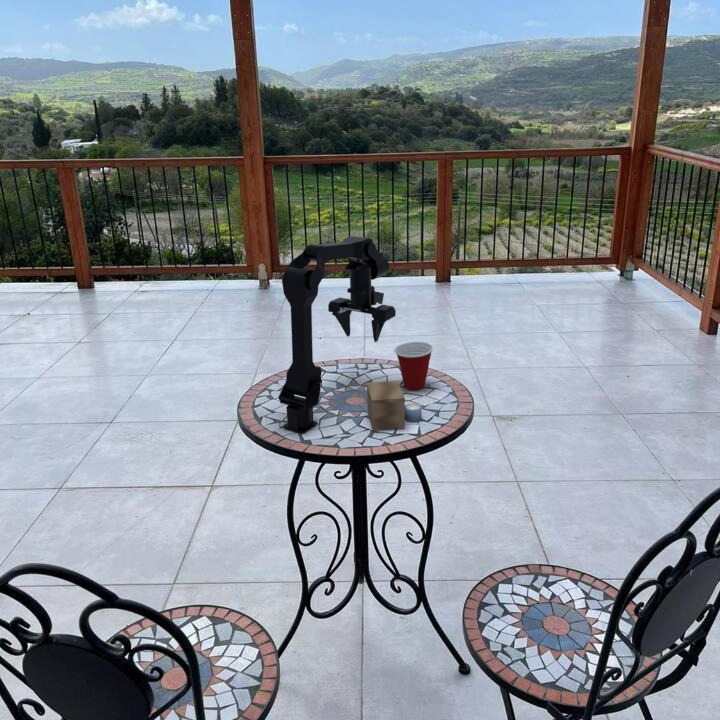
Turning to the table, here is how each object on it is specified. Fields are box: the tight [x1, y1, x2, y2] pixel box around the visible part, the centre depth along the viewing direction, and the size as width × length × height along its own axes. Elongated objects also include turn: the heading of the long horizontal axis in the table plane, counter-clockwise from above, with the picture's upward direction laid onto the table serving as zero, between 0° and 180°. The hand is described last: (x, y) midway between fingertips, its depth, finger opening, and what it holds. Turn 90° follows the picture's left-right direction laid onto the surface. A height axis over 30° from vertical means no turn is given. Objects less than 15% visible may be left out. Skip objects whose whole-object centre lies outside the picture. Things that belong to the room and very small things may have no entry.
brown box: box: [366, 380, 406, 431], centre depth 171 cm, size 8×11×8 cm
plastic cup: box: [393, 341, 434, 392], centre depth 190 cm, size 11×11×12 cm
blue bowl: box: [405, 403, 423, 423], centre depth 173 cm, size 4×4×3 cm
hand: (362, 338), depth 187 cm, fingers open, 9 cm apart
